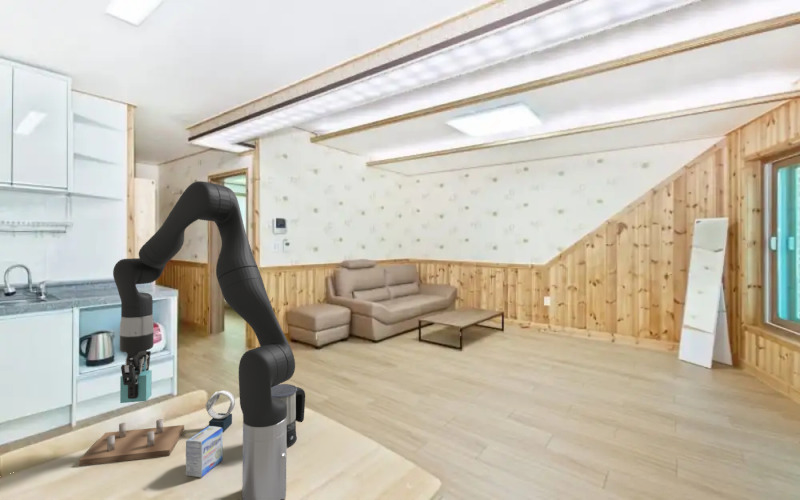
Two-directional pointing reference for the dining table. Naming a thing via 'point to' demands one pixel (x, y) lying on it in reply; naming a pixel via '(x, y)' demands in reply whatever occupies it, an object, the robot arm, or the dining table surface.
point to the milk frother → (291, 407)
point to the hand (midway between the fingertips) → (136, 394)
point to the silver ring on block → (221, 418)
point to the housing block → (143, 388)
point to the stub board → (133, 444)
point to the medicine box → (204, 451)
